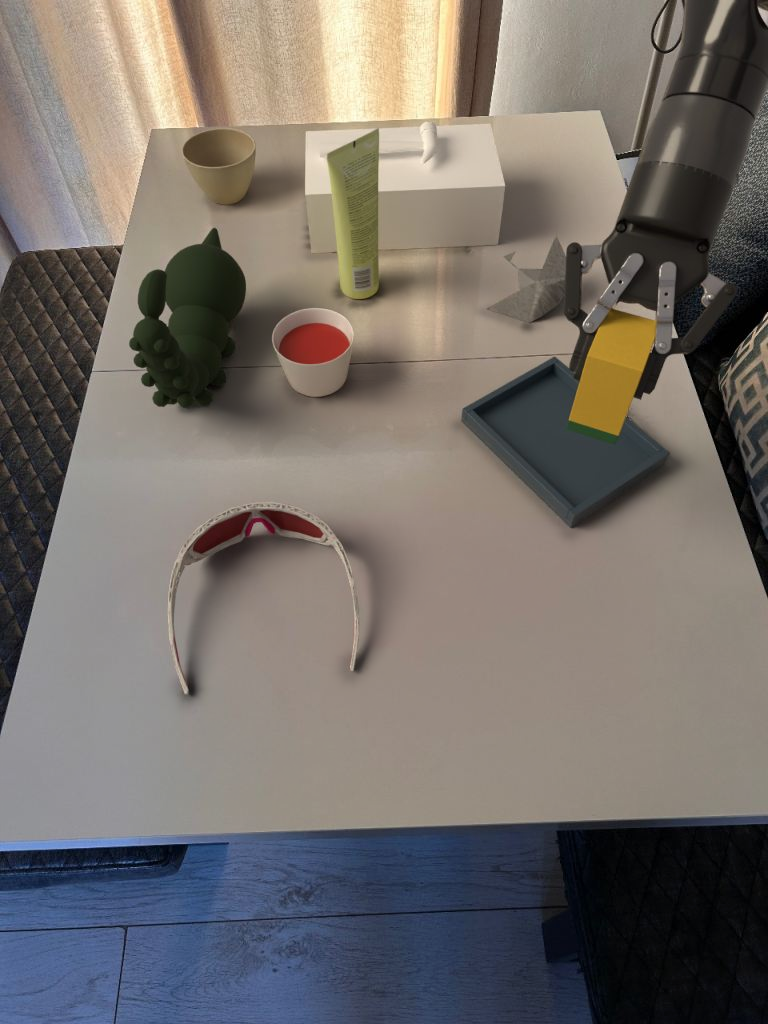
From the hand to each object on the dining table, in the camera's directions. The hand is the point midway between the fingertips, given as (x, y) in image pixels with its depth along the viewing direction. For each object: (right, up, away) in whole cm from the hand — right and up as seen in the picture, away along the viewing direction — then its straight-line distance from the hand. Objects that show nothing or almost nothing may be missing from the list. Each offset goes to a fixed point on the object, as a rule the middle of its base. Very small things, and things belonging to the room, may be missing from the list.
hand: (607, 388), depth 63 cm
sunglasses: (-30, -19, +10) cm, 37 cm away
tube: (-21, +19, +35) cm, 45 cm away
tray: (+1, -3, +20) cm, 20 cm away
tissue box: (-16, +31, +44) cm, 56 cm away
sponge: (+1, -1, +5) cm, 5 cm away
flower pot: (-41, +35, +47) cm, 72 cm away
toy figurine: (-40, +8, +28) cm, 49 cm away
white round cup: (-26, +6, +27) cm, 38 cm away
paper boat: (0, +17, +34) cm, 38 cm away
